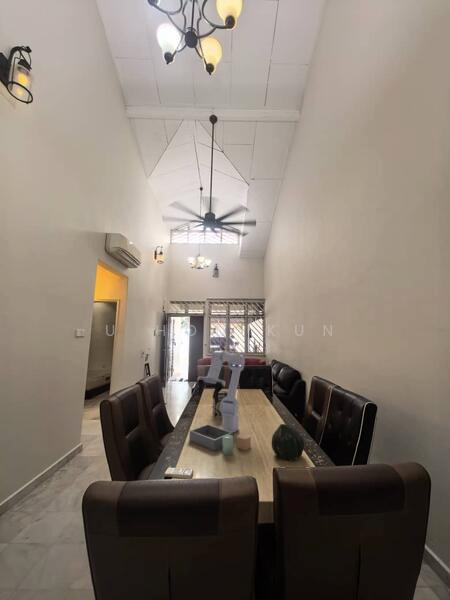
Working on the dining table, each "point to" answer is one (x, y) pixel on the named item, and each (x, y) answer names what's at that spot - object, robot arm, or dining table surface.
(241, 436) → the terracotta cube
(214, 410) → the coffee box
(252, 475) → the dining table surface
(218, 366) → the robot arm
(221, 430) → the tray
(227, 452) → the sage cylinder
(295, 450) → the squash
